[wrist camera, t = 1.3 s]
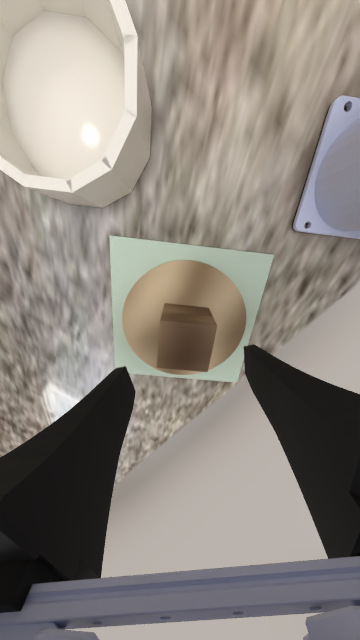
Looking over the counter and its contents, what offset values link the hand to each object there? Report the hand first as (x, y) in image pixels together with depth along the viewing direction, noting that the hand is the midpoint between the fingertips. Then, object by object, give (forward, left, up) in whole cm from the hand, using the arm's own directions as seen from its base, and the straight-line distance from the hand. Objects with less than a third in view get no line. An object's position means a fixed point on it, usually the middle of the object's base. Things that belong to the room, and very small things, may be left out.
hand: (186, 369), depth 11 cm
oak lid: (0, 0, -8) cm, 8 cm away
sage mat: (0, 0, -8) cm, 8 cm away
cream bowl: (+9, -14, -8) cm, 19 cm away
